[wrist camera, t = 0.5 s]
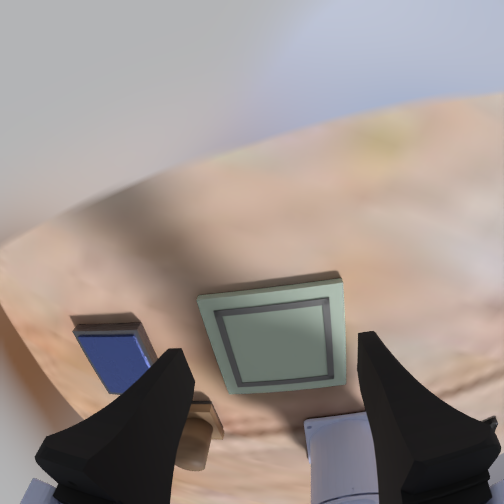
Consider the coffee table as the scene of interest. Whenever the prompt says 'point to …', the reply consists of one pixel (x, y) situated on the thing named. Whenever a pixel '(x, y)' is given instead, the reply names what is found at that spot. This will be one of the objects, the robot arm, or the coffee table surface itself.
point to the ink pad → (116, 353)
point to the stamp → (198, 436)
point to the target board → (278, 336)
